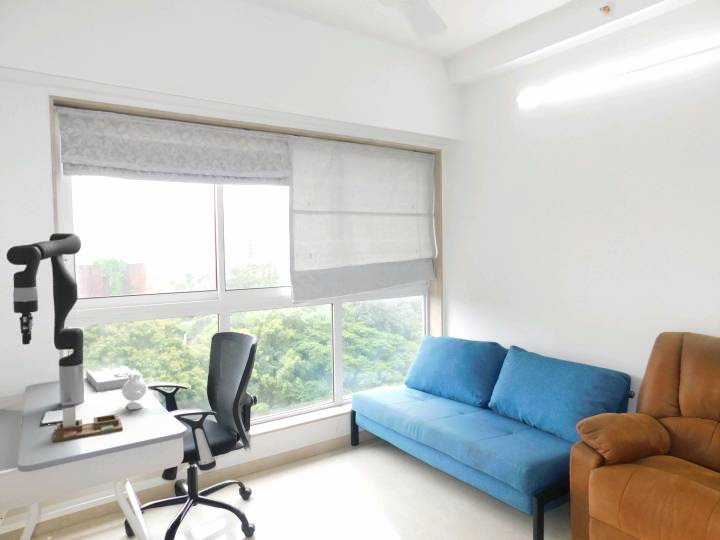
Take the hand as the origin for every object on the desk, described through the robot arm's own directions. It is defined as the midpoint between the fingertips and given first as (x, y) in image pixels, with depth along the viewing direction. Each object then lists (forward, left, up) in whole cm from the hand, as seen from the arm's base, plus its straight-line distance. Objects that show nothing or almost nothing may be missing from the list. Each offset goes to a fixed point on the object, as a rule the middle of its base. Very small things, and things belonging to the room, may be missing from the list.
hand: (27, 342), depth 183 cm
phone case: (-9, +8, -34) cm, 36 cm away
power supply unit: (-62, +32, -34) cm, 77 cm away
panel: (+14, +19, -33) cm, 41 cm away
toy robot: (-8, +37, -33) cm, 50 cm away
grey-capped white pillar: (+12, +13, -32) cm, 37 cm away
